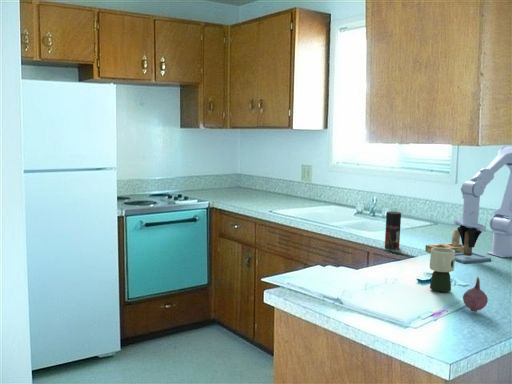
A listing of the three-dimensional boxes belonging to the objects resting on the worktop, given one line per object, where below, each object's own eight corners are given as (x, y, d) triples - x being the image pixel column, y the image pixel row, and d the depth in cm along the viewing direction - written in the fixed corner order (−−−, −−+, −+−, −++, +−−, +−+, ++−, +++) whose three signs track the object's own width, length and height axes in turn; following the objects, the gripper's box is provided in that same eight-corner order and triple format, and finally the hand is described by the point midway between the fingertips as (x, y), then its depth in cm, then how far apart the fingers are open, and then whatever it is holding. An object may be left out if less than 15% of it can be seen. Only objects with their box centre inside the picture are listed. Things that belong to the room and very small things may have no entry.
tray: (471, 254, 216) (471, 251, 216) (490, 260, 207) (491, 257, 207) (444, 257, 210) (444, 254, 210) (462, 263, 201) (463, 260, 201)
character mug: (454, 297, 160) (457, 254, 158) (429, 295, 161) (432, 252, 160) (450, 286, 170) (452, 246, 169) (426, 284, 172) (429, 245, 170)
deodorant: (388, 245, 229) (390, 211, 227) (401, 247, 225) (403, 212, 224) (382, 247, 225) (384, 212, 223) (395, 250, 221) (397, 214, 219)
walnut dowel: (467, 253, 210) (469, 231, 209) (473, 255, 208) (475, 232, 206) (461, 254, 209) (463, 231, 208) (467, 256, 206) (469, 233, 205)
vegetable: (490, 316, 144) (493, 280, 143) (468, 316, 143) (471, 280, 142) (479, 308, 150) (482, 274, 149) (458, 308, 149) (460, 274, 148)
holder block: (455, 248, 227) (455, 242, 226) (469, 252, 219) (470, 246, 219) (425, 250, 221) (425, 245, 220) (438, 255, 213) (439, 249, 213)
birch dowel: (455, 250, 223) (456, 229, 222) (460, 251, 221) (461, 230, 220) (449, 250, 222) (451, 229, 221) (454, 252, 220) (456, 230, 218)
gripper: (449, 209, 211) (446, 243, 213) (477, 215, 198) (474, 251, 200) (463, 208, 214) (460, 241, 216) (491, 214, 201) (488, 249, 203)
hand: (468, 246), depth 208 cm, fingers closed on walnut dowel, 3 cm apart
